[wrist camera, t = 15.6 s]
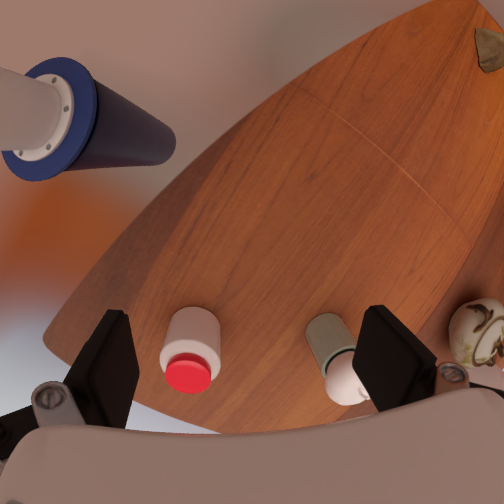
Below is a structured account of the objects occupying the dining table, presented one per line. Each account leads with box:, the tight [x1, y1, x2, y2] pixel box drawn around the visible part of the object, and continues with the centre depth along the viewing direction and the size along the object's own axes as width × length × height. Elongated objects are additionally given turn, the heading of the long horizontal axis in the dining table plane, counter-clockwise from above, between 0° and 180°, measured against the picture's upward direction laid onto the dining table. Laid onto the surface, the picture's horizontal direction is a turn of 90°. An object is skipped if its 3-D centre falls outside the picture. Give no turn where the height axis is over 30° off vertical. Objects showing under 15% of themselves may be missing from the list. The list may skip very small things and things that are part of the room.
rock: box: [475, 28, 504, 73], centre depth 27 cm, size 11×9×10 cm
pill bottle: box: [160, 307, 221, 394], centre depth 36 cm, size 8×8×11 cm
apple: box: [325, 351, 370, 405], centre depth 31 cm, size 7×7×8 cm
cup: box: [305, 313, 357, 379], centre depth 39 cm, size 6×6×9 cm
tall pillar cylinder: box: [465, 364, 504, 391], centre depth 42 cm, size 11×11×25 cm
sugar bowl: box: [448, 298, 504, 369], centre depth 40 cm, size 20×15×15 cm
